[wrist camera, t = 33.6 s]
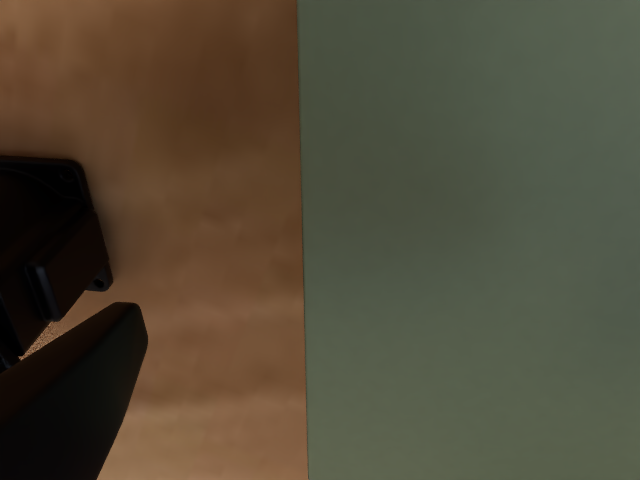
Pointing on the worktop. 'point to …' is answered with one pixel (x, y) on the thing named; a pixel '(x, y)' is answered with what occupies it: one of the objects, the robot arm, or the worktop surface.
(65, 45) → the worktop surface
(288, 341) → the worktop surface
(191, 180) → the worktop surface
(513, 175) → the cabinet
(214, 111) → the worktop surface
